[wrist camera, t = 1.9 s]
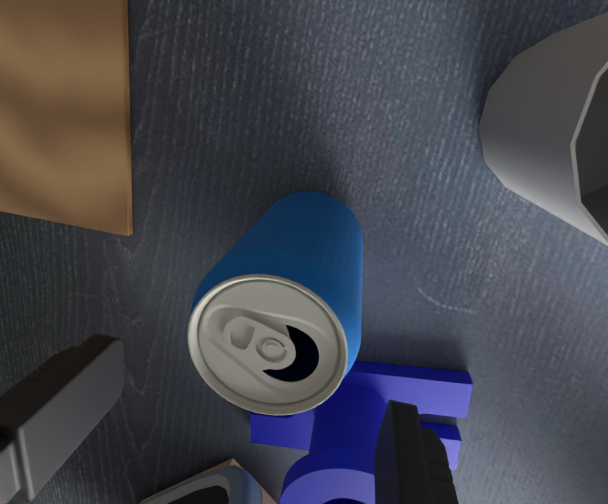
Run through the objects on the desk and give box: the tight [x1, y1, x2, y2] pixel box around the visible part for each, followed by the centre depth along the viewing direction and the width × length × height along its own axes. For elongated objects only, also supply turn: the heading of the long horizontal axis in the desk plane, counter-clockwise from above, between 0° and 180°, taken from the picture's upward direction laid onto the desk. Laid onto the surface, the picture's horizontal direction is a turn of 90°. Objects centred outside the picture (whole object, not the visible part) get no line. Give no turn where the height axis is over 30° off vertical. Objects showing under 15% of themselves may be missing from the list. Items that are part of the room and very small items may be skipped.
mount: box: [250, 361, 473, 504], centre depth 24 cm, size 15×8×9 cm, turn 89°
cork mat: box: [0, 0, 133, 236], centre depth 23 cm, size 16×14×1 cm
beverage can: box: [187, 191, 363, 415], centre depth 19 cm, size 6×6×12 cm
